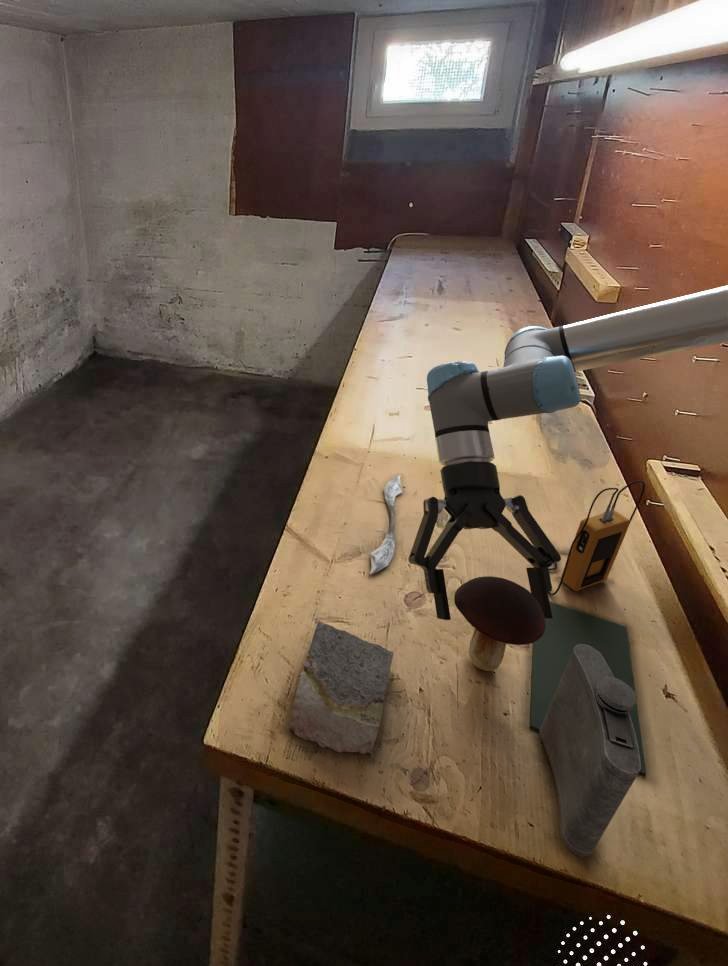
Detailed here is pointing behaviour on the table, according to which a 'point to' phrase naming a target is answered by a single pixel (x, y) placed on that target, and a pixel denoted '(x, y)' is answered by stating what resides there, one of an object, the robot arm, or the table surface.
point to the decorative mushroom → (498, 618)
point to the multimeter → (596, 546)
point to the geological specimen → (341, 691)
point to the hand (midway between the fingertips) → (494, 618)
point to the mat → (557, 651)
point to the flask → (590, 747)
